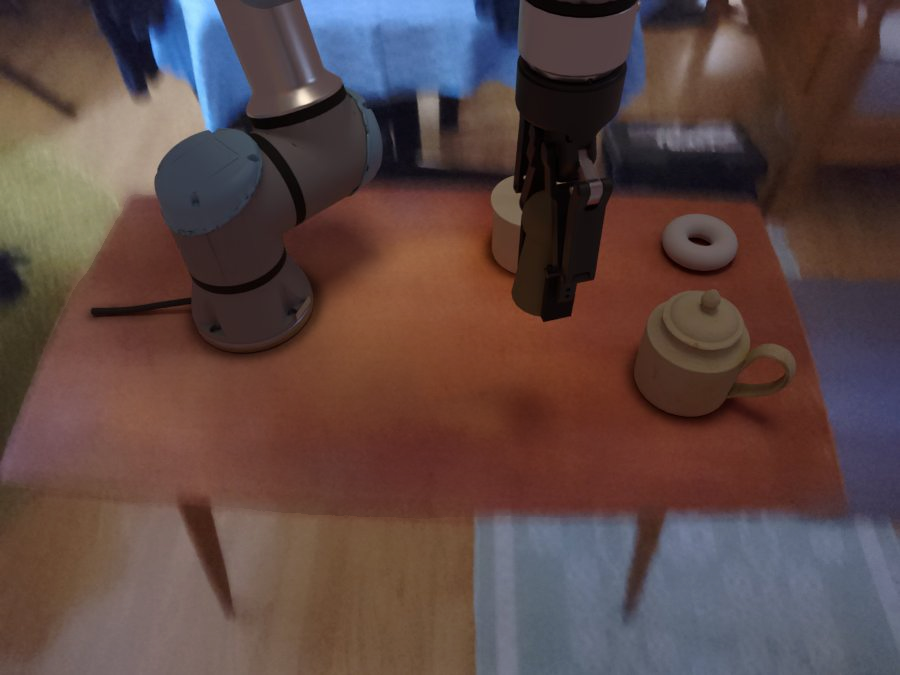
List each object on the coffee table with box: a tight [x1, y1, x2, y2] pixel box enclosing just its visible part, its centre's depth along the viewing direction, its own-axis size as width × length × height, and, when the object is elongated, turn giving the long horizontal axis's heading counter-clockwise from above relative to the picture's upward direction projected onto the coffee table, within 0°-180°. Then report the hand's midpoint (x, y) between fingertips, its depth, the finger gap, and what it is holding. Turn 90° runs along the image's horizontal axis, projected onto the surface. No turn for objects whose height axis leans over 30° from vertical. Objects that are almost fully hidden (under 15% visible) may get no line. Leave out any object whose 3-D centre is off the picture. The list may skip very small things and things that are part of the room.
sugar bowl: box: [633, 288, 797, 418], centre depth 74 cm, size 15×11×15 cm
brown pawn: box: [510, 190, 576, 318], centre depth 60 cm, size 6×6×11 cm
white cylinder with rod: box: [490, 175, 562, 228], centre depth 87 cm, size 11×11×7 cm
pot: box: [491, 210, 520, 275], centre depth 92 cm, size 10×10×8 cm
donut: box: [661, 213, 739, 272], centre depth 93 cm, size 10×4×10 cm
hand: (543, 290), depth 64 cm, fingers closed on brown pawn, 6 cm apart
